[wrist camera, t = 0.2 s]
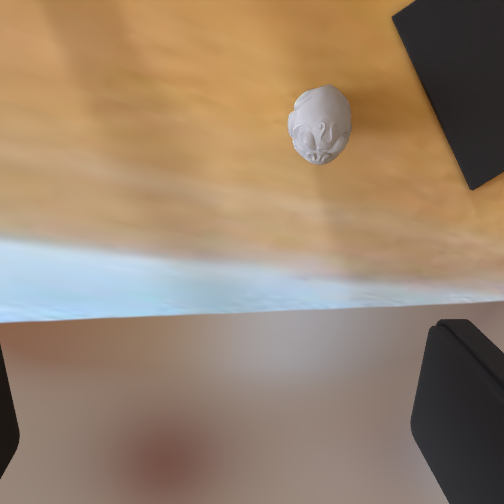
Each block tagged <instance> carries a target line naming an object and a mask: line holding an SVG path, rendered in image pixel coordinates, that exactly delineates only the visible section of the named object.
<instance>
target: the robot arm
mask: <svg viewBox="0 0 504 504" xmlns="http://www.w3.org/2000/svg"><path fill="white" fill-rule="evenodd" d="M411 431H412V434H413V437H414V439H415V441H416V443H417V445H418V447H419V448H420V450H421V452H422V454H423V456H424V458H425V459H426V461H427V463H428V465H429V467H430V469H431V471H432V472H433V474H434V476H435V478H436V480H437V482H438V483H439V485H440V487H441V489H442V491H443V493H444V494H445V496H446V498H447V500H448V502H449V504H504V353H503V352H502V351H501V350H500V349H499V348H498V347H497V346H496V345H494V344H493V343H492V342H491V341H490V340H489V339H488V338H487V337H486V336H485V335H484V334H483V333H482V332H481V331H480V330H479V329H478V328H477V327H476V326H475V325H474V324H472V323H471V322H470V321H469V320H467V319H444V320H443V319H441V320H440V321H438V322H437V324H436V326H432V327H431V328H430V329H429V332H428V337H427V342H426V347H425V352H424V357H423V362H422V367H421V371H420V376H419V381H418V386H417V391H416V396H415V401H414V406H413V411H412V416H411ZM19 437H20V434H19V427H18V423H17V418H16V413H15V409H14V405H13V400H12V395H11V391H10V387H9V382H8V377H7V373H6V368H5V364H4V359H3V355H2V350H1V345H0V479H1V477H2V475H3V473H4V471H5V469H6V468H7V466H8V464H9V463H10V461H11V459H12V457H13V455H14V454H15V452H16V449H17V447H18V444H19Z"/></svg>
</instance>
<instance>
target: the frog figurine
mask: <svg viewBox="0 0 504 504" xmlns="http://www.w3.org/2000/svg"><path fill="white" fill-rule="evenodd" d="M294 109H295V110H294V111H293V112H291V113H290V115H289V120H288V132H289V134H290V136H291V137H292V138H293V141H292V142H293V145H294V148H295V150H296V151H297V152H298V153H299V154H300V155H301V156H302V157H304V158H305V159H306V160H307V161H309V162H311V163H313V164H318V165H323V164H326V163H328V162H330V161H332V160H333V159H335V158H336V157H337V156H338V155H339V153H341V152H342V150H343V149H344V148H345V146H346V144H347V142H348V140H349V136H350V133H351V129H352V126H351V109H350V105H349V102H348V100H347V98H346V97H345V96H344V95H343V94H342V93H341V92H340V91H339V90H338V89H337V88H335V87H334V86H332V85H330V84H328V85H324V86H321V87H319V88H317V89H310V90H307V91H305V92H304V93H303V94H302V95H301V96H300V97H299V98H298V99H297V101H296V102H295V105H294Z"/></svg>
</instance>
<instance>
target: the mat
mask: <svg viewBox="0 0 504 504" xmlns="http://www.w3.org/2000/svg"><path fill="white" fill-rule="evenodd" d="M392 20H393V22H394V24H395V26H396V28H397V31H398V33H399V35H400V37H401V39H402V41H403V44H404V46H405V48H406V50H407V52H408V55H409V57H410V59H411V61H412V63H413V65H414V68H415V70H416V72H417V74H418V76H419V79H420V81H421V83H422V85H423V87H424V90H425V92H426V94H427V96H428V98H429V100H430V103H431V105H432V107H433V109H434V111H435V114H436V116H437V118H438V120H439V122H440V124H441V127H442V129H443V131H444V133H445V135H446V138H447V140H448V142H449V144H450V146H451V149H452V151H453V153H454V155H455V157H456V159H457V162H458V164H459V166H460V168H461V170H462V173H463V175H464V177H465V179H466V181H467V183H468V186H469V188H470V189H471V190H474V189H476V188H478V187H479V186H481V185H483V184H484V183H486V182H488V181H489V180H491V179H492V178H494V177H496V176H497V175H499V174H501V173H502V172H504V0H415V1H414V2H413V3H411V4H410V5H408V6H407V7H405V8H404V9H402V10H401V11H400V12H398V13H397V14H395V15H394V16H392Z"/></svg>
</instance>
